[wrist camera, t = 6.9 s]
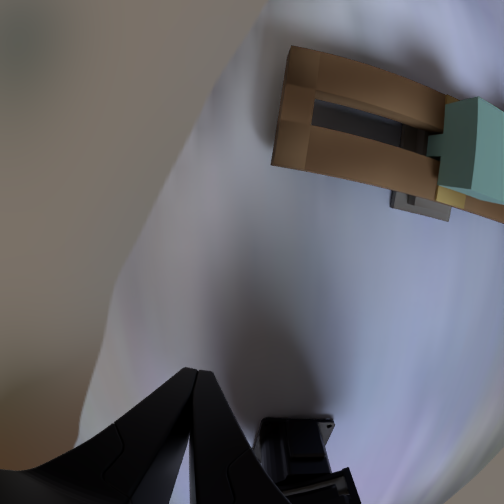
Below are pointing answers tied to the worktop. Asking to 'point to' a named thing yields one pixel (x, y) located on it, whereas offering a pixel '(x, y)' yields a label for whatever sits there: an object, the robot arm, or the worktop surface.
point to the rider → (471, 150)
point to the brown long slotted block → (363, 149)
